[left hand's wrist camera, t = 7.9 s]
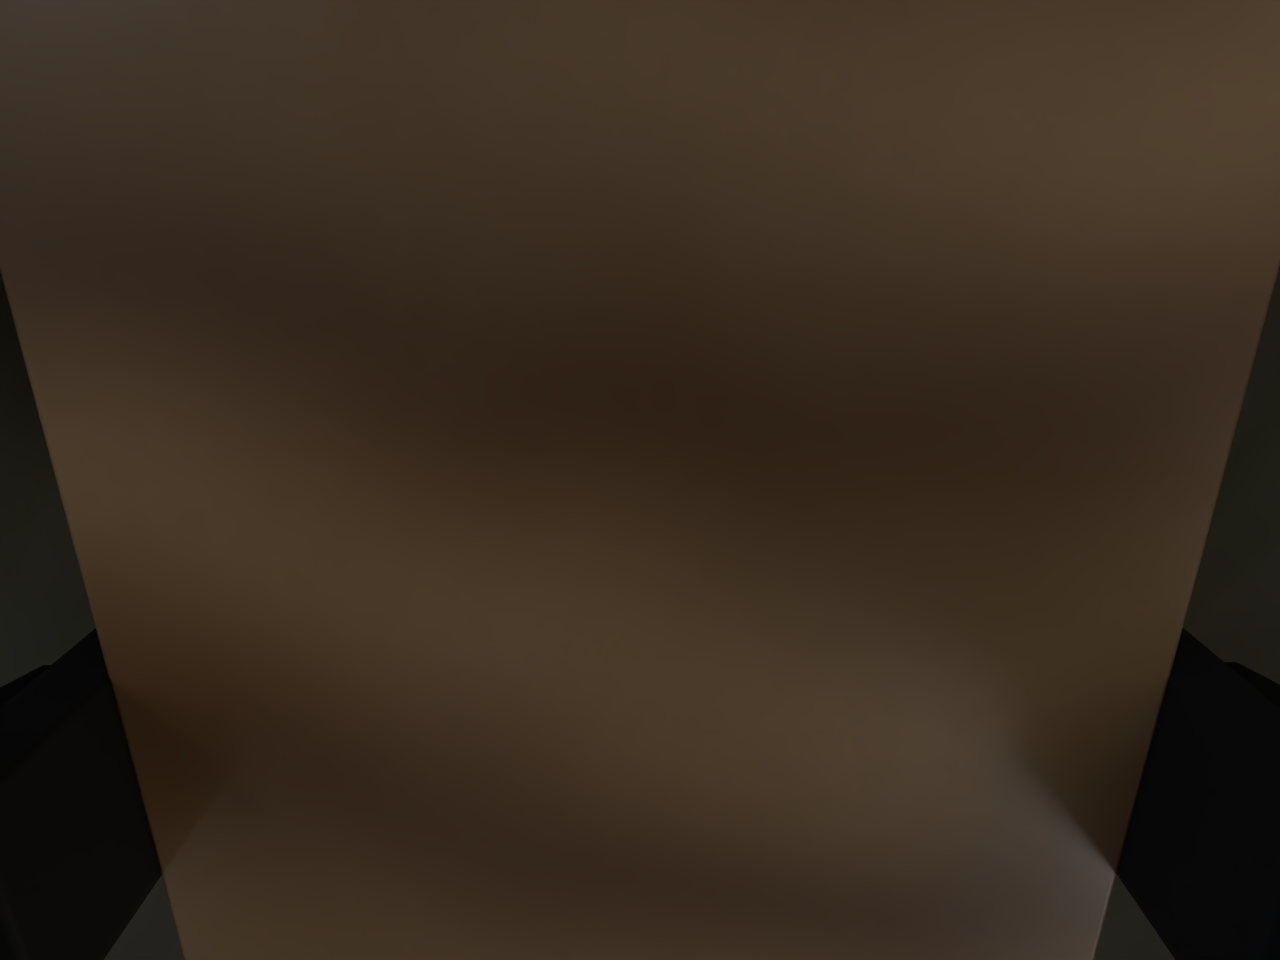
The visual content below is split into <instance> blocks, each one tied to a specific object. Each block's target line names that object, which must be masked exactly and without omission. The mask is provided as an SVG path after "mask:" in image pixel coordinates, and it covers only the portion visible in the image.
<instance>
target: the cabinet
mask: <svg viewBox="0 0 1280 960" xmlns="http://www.w3.org/2000/svg"><path fill="white" fill-rule="evenodd" d="M1279 266H1280V0H0V272H1V275H2V279H3V283H4V286H5V290H6V294H7V298H8V301H9V305H10V309H11V313H12V316H13V320H14V324H15V328H16V331H17V335H18V339H19V343H20V346H21V350H22V354H23V357H24V361H25V365H26V369H27V372H28V376H29V380H30V384H31V387H32V391H33V395H34V399H35V402H36V406H37V410H38V414H39V417H40V421H41V425H42V428H43V432H44V436H45V440H46V443H47V447H48V451H49V455H50V458H51V462H52V466H53V470H54V473H55V477H56V481H57V485H58V488H59V492H60V496H61V500H62V503H63V507H64V511H65V514H66V518H67V522H68V526H69V529H70V533H71V537H72V541H73V544H74V548H75V552H76V556H77V559H78V563H79V567H80V571H81V574H82V578H83V582H84V585H85V589H86V593H87V597H88V600H89V604H90V608H91V612H92V615H93V619H94V623H95V627H96V630H97V634H98V638H99V642H100V645H101V649H102V653H103V657H104V660H105V664H106V668H107V671H108V675H109V679H110V683H111V686H112V690H113V694H114V698H115V701H116V705H117V709H118V713H119V716H120V720H121V724H122V728H123V731H124V735H125V739H126V742H127V746H128V750H129V754H130V757H131V761H132V765H133V769H134V772H135V776H136V780H137V784H138V787H139V791H140V795H141V799H142V802H143V806H144V810H145V814H146V817H147V821H148V825H149V828H150V832H151V836H152V840H153V843H154V847H155V851H156V855H157V858H158V862H159V866H160V870H161V873H162V877H163V881H164V885H165V888H166V892H167V896H168V899H169V903H170V907H171V911H172V914H173V918H174V922H175V926H176V929H177V933H178V937H179V941H180V944H181V948H182V952H183V956H184V959H185V960H1094V957H1095V953H1096V949H1097V945H1098V942H1099V938H1100V934H1101V930H1102V927H1103V923H1104V919H1105V915H1106V912H1107V908H1108V904H1109V901H1110V897H1111V893H1112V889H1113V886H1114V882H1115V878H1116V874H1117V871H1118V867H1119V863H1120V860H1121V856H1122V852H1123V848H1124V845H1125V841H1126V837H1127V833H1128V830H1129V826H1130V822H1131V818H1132V815H1133V811H1134V807H1135V804H1136V800H1137V796H1138V792H1139V789H1140V785H1141V781H1142V777H1143V774H1144V770H1145V766H1146V763H1147V759H1148V755H1149V751H1150V748H1151V744H1152V740H1153V736H1154V733H1155V729H1156V725H1157V722H1158V718H1159V714H1160V710H1161V707H1162V703H1163V699H1164V695H1165V692H1166V688H1167V684H1168V680H1169V677H1170V673H1171V669H1172V666H1173V662H1174V658H1175V654H1176V651H1177V647H1178V643H1179V639H1180V636H1181V632H1182V628H1183V625H1184V621H1185V617H1186V613H1187V610H1188V606H1189V602H1190V598H1191V595H1192V591H1193V587H1194V583H1195V580H1196V576H1197V572H1198V569H1199V565H1200V561H1201V557H1202V554H1203V550H1204V546H1205V542H1206V539H1207V535H1208V531H1209V528H1210V524H1211V520H1212V516H1213V513H1214V509H1215V505H1216V501H1217V498H1218V494H1219V490H1220V487H1221V483H1222V479H1223V475H1224V472H1225V468H1226V464H1227V460H1228V457H1229V453H1230V449H1231V445H1232V442H1233V438H1234V434H1235V431H1236V427H1237V423H1238V419H1239V416H1240V412H1241V408H1242V404H1243V401H1244V397H1245V393H1246V390H1247V386H1248V382H1249V378H1250V375H1251V371H1252V367H1253V363H1254V360H1255V356H1256V352H1257V349H1258V345H1259V341H1260V337H1261V334H1262V330H1263V326H1264V322H1265V319H1266V315H1267V311H1268V307H1269V304H1270V300H1271V296H1272V293H1273V289H1274V285H1275V281H1276V278H1277V274H1278V270H1279Z"/></svg>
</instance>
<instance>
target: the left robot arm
mask: <svg viewBox="0 0 1280 960" xmlns="http://www.w3.org/2000/svg"><path fill="white" fill-rule="evenodd" d="M161 875H162V873H161V870H160V866H159V862H158V858H157V855H156V851H155V847H154V843H153V840H152V836H151V832H150V828H149V825H148V821H147V817H146V814H145V810H144V806H143V802H142V799H141V795H140V791H139V787H138V784H137V780H136V776H135V772H134V769H133V765H132V761H131V757H130V754H129V750H128V746H127V742H126V739H125V735H124V731H123V728H122V724H121V720H120V716H119V713H118V709H117V705H116V701H115V698H114V694H113V690H112V686H111V683H110V679H109V675H108V671H107V668H106V664H105V660H104V657H103V653H102V649H101V645H100V642H99V638H98V634H97V630H96V628H95V629H94V630H93V631H92V632H91V633H89V634H88V635H87V636H86V637H85V638H83V639H82V640H81V641H80V642H79V643H77V644H76V645H75V646H74V647H73V648H71V649H70V650H69V651H68V652H67V653H65V654H64V655H63V656H62V657H61V658H59V659H58V660H57V661H56V662H55V663H53V664H52V665H43V666H41V667H39V668H37V669H35V670H33V671H31V672H30V673H28V674H26V675H24V676H22V677H20V678H18V679H16V680H14V681H12V682H10V683H8V684H6V685H4V686H3V687H1V688H0V960H104V958H105V957H106V955H107V954H108V952H109V951H110V950H111V948H112V947H113V945H114V944H115V942H116V941H117V939H118V938H119V936H120V935H121V933H122V932H123V931H124V929H125V928H126V926H127V925H128V923H129V922H130V920H131V919H132V917H133V916H134V914H135V913H136V911H137V910H138V909H139V907H140V906H141V904H142V903H143V901H144V900H145V898H146V897H147V895H148V894H149V892H150V891H151V890H152V888H153V887H154V885H155V884H156V882H157V881H158V879H159V878H160V876H161ZM1117 875H1118V876H1119V878H1120V879H1121V881H1122V882H1123V884H1124V885H1125V887H1126V888H1127V889H1128V891H1129V892H1130V894H1131V895H1132V897H1133V898H1134V900H1135V901H1136V903H1137V904H1138V906H1139V907H1140V908H1141V910H1142V911H1143V913H1144V914H1145V916H1146V917H1147V919H1148V920H1149V922H1150V923H1151V925H1152V926H1153V928H1154V929H1155V930H1156V932H1157V933H1158V935H1159V936H1160V938H1161V939H1162V941H1163V942H1164V944H1165V945H1166V947H1167V948H1168V949H1169V951H1170V952H1171V954H1172V955H1173V957H1174V958H1175V960H1280V685H1279V684H1277V683H1275V682H1273V681H1272V680H1270V679H1268V678H1266V677H1264V676H1262V675H1260V674H1258V673H1256V672H1254V671H1252V670H1250V669H1248V668H1246V667H1244V666H1242V665H1241V664H1239V663H1237V662H1223V661H1222V660H1221V659H1220V658H1218V657H1217V656H1216V655H1215V654H1214V653H1212V652H1211V651H1210V650H1209V649H1208V648H1206V647H1205V646H1204V645H1203V644H1202V643H1200V642H1199V641H1198V640H1197V639H1196V638H1194V637H1193V636H1192V635H1191V634H1190V633H1188V632H1187V631H1186V630H1185V629H1184V628H1182V632H1181V636H1180V639H1179V643H1178V647H1177V651H1176V654H1175V658H1174V662H1173V666H1172V669H1171V673H1170V677H1169V680H1168V684H1167V688H1166V692H1165V695H1164V699H1163V703H1162V707H1161V710H1160V714H1159V718H1158V722H1157V725H1156V729H1155V733H1154V736H1153V740H1152V744H1151V748H1150V751H1149V755H1148V759H1147V763H1146V766H1145V770H1144V774H1143V777H1142V781H1141V785H1140V789H1139V792H1138V796H1137V800H1136V804H1135V807H1134V811H1133V815H1132V818H1131V822H1130V826H1129V830H1128V833H1127V837H1126V841H1125V845H1124V848H1123V852H1122V856H1121V860H1120V863H1119V867H1118V871H1117Z"/></svg>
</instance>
